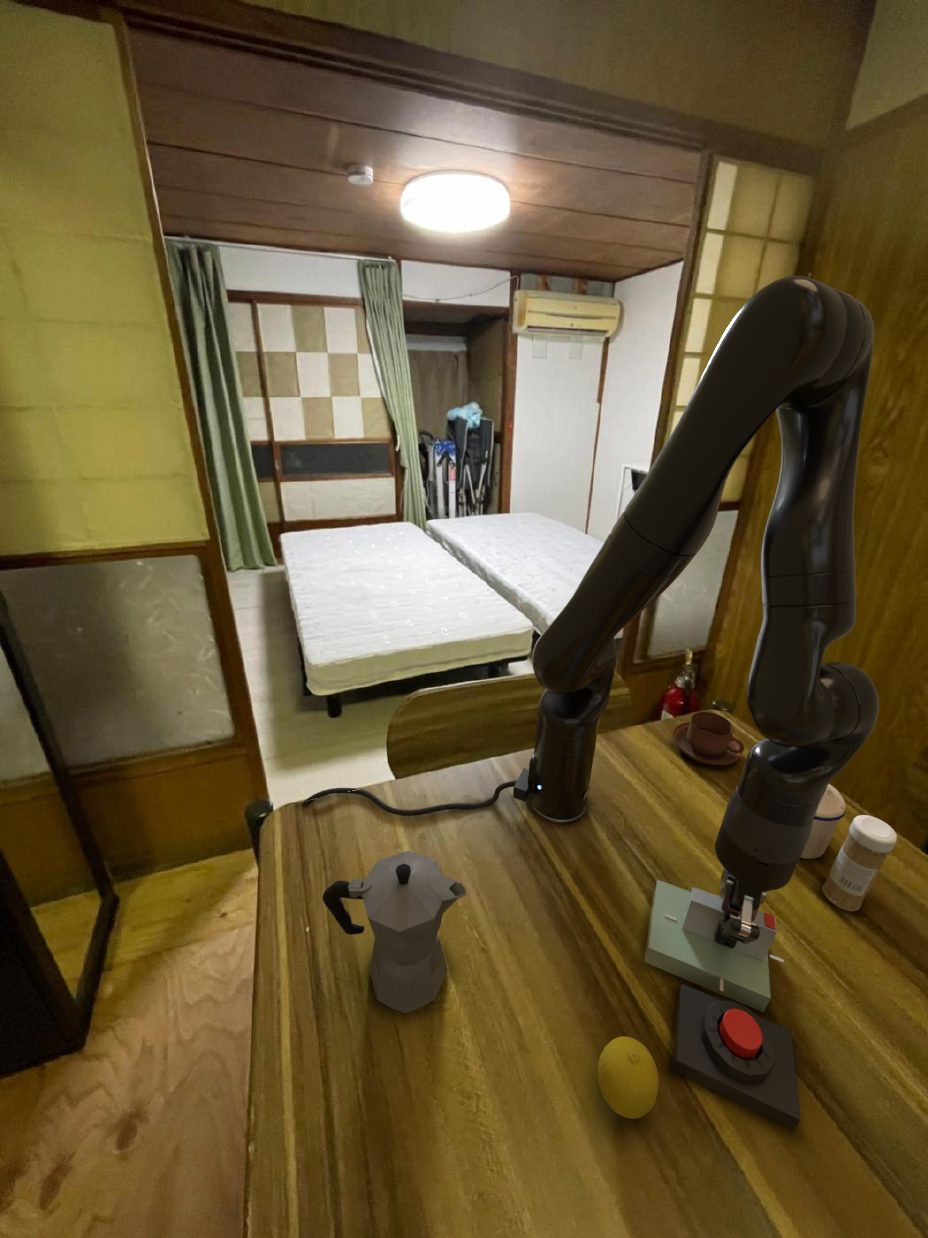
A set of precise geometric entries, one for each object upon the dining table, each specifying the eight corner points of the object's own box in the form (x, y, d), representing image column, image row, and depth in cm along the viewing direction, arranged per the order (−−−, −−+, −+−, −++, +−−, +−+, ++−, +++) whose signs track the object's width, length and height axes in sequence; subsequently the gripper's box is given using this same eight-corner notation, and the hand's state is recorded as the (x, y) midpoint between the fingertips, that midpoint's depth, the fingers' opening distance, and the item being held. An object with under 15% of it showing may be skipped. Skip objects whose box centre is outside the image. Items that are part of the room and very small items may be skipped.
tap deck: (642, 975, 61) (646, 959, 60) (654, 884, 72) (658, 869, 71) (781, 1035, 56) (789, 1019, 54) (771, 927, 67) (778, 912, 65)
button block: (671, 1071, 53) (679, 1051, 51) (677, 994, 59) (684, 973, 58) (793, 1131, 49) (806, 1111, 47) (785, 1041, 55) (796, 1021, 54)
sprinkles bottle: (865, 901, 70) (904, 832, 64) (850, 919, 68) (889, 848, 62) (829, 876, 73) (863, 808, 67) (814, 892, 71) (847, 823, 65)
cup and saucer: (738, 740, 100) (747, 714, 98) (739, 780, 91) (749, 752, 88) (674, 723, 105) (680, 698, 102) (668, 759, 95) (675, 733, 92)
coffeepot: (463, 932, 66) (466, 832, 58) (464, 1016, 57) (466, 912, 49) (343, 931, 65) (328, 831, 57) (325, 1015, 57) (306, 911, 49)
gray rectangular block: (681, 929, 63) (691, 899, 61) (682, 915, 65) (692, 885, 62) (763, 961, 60) (777, 931, 57) (762, 946, 61) (776, 915, 59)
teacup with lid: (792, 808, 85) (814, 754, 80) (841, 854, 77) (869, 796, 72) (731, 823, 82) (750, 767, 77) (776, 872, 74) (800, 813, 69)
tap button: (719, 1047, 52) (723, 1038, 51) (719, 1011, 55) (723, 1002, 54) (759, 1066, 50) (764, 1057, 50) (757, 1027, 53) (761, 1018, 53)
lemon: (586, 1065, 53) (595, 1023, 50) (637, 1060, 54) (650, 1018, 50) (603, 1137, 48) (615, 1096, 45) (660, 1131, 49) (676, 1090, 45)
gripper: (723, 777, 61) (693, 875, 69) (723, 869, 50) (687, 974, 58) (795, 797, 58) (755, 897, 66) (812, 900, 47) (761, 1005, 55)
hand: (723, 932), depth 62 cm, fingers closed on gray rectangular block, 2 cm apart
